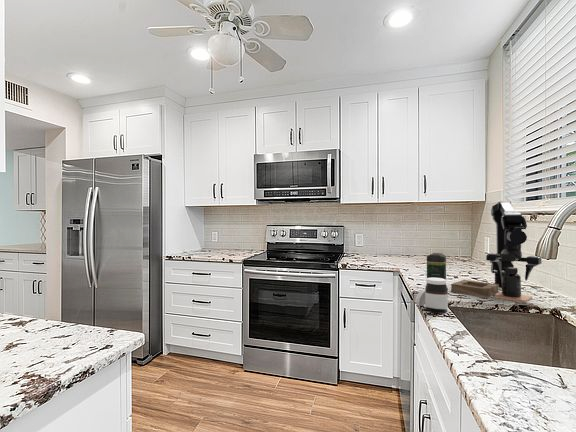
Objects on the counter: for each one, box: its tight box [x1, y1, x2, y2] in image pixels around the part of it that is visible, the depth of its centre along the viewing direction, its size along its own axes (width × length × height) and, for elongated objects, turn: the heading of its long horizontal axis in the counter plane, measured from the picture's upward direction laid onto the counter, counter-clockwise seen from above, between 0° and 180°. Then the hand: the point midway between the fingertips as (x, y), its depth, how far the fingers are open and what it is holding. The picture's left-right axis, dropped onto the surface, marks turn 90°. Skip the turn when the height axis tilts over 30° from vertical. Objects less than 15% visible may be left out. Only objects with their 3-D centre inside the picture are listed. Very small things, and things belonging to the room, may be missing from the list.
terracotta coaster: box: [493, 291, 533, 303], centre depth 137 cm, size 11×11×1 cm
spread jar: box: [415, 277, 449, 314], centre depth 122 cm, size 12×11×12 cm
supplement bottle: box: [501, 266, 522, 297], centre depth 137 cm, size 7×7×12 cm
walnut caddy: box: [450, 279, 500, 298], centre depth 148 cm, size 15×15×4 cm
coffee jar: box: [426, 252, 447, 280], centre depth 145 cm, size 10×8×19 cm
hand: (513, 278), depth 137 cm, fingers open, 9 cm apart
